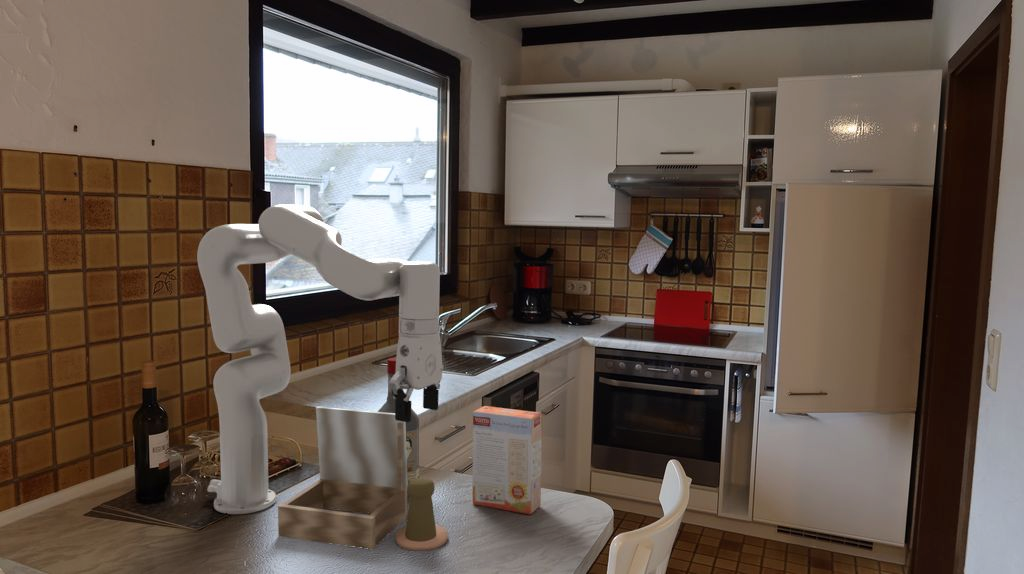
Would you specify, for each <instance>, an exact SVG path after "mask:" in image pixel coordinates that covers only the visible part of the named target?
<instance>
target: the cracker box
mask: <svg viewBox="0 0 1024 574" xmlns="http://www.w3.org/2000/svg"><path fill="white" fill-rule="evenodd" d="M542 423H543V422H542V412H538V411H531V410H530V411H529V410H523V409H522V410H521V409H513V408H506V407H505V408H503V407H498V406H497V407H496V406H490V405H489V406H488V405H484V406H481V407H479V408H477V409H476V410H475V409H474V411H472V504H474V505H477V506H483V507H487V508H494V509H500V510H504V511H510V512H514V513H520V514H525V515H532V514H533V513H534V512H535V511H536V510H537V509H539V508H540V507H541V501H542V499H541V498H542V497H541V493H542V492H541V491H542V490H541V489H542V484H541V483H542Z"/></svg>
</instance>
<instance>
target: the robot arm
mask: <svg viewBox="0 0 1024 574" xmlns="http://www.w3.org/2000/svg"><path fill="white" fill-rule="evenodd" d="M257 222H258V223H229V224H227V223H226V224H222V225H219V226H216V227H213V228H212V229H210V230H209V231H207V232H205V234H204V235H203V237H202V238H201V240H200V242H199V243H198V244H199V245H198V248H197V254H196V255H197V256H196V257H197V259H196V260H197V267H198V270H199V273H200V274H199V275H200V277H201V280H202V282H203V286H204V290H205V295H206V302H207V308H208V314H209V320H210V325H211V326H210V327H211V331H212V337H213V341H214V344H215V346H216V348H217V349H219V350H220V351H221V352H222V353H223V352H224V353H229V354H235V353H236V354H237V353H241V352H245V351H249V350H250V354H251V355H248V356H244V357H240V358H236V359H232V360H229V361H228V362H225V363H224V364H223V365H221V366H220V367H219V368H218V370H217V371H216V372H215V375H214V377H213V391H214V395H215V399H216V404H217V409H218V419H219V423H218V424H219V443H220V444H219V447H220V448H219V450H220V451H219V452H220V479H211V480H210V482H209V485H208V486H207V489H206V491H207V492H209V493H216V498H215V499H214V501H213V507H214V510H215V511H217V512H219V513H223V514H226V513H227V514H228V515H246V514H251V513H256V512H259V511H260V512H261V511H263V510H266V509H268V508H269V507H271V506H273V505H274V504H275V503H276V501H277V494H276V492H275V491H273V490H271V489H269V455H268V454H269V453H268V451H269V449H268V421H267V416H266V413H265V411H264V409H263V407H262V405H261V403H260V402H261V401H260V400H261V399H263V398H266V397H269V396H272V395H276V394H278V393H280V392H282V391H284V390H285V389H286V388H287V386H288V385H289V382H290V380H291V376H292V375H291V373H292V372H291V362H290V355H289V351H288V344H287V343H288V342H287V336H286V331H285V327H284V323H283V320H282V317H281V316H280V314H279V313H278V312H277V310H275V309H274V308H273V307H272V306H270V305H267V304H264V303H263V304H262V303H257V304H256V303H255V304H252V301H251V297H250V296H251V295H250V290H249V285H248V282H247V281H246V279H245V276H244V275H243V274H242V272H241V271H240V270H239V268H238V266H240V265H253V264H254V265H255V264H266V263H272V262H275V261H278V260H281V259H284V258H286V257H288V256H289V255H290V256H291V255H292V256H294V257H296V258H297V259H300V260H302V261H303V262H305V263H308V264H309V265H311V266H312V267H315V269H316V271H317V273H318V274H319V275H320V277H321V278H322V280H324V281H325V282H326V283H327V284H329V285H330V286H332V287H334V288H336V289H337V290H340V291H341V292H342V293H345V294H347V295H348V296H351V297H353V298H355V299H359V300H363V301H374V300H379V299H385V298H392V297H399V298H398V302H399V304H398V307H399V308H398V341H397V347H396V348H397V349H396V356H395V358H396V373H395V375H394V376H393V377H392V378H391V379H390V382H389V383H390V386H391V389H392V394H393V396H394V400H395V419H396V420H397V421H403V422H410V421H411V409H412V400H410V398H411V396H412V393H413V391H414V390H416V391H419V390H422V389H423V390H422V391H423V392H422V408H423V409H426V410H432V411H437V410H438V409H439V397H440V396H439V393H440V392H439V390H440V389H441V381H442V378H443V370H444V364H443V356H442V354H443V353H442V341H441V336H440V332H439V329H440V328H439V325H440V323H439V322H440V321H439V320H440V290H441V289H440V283H441V281H440V279H441V277H440V276H441V272H440V271H441V270H440V267H439V265H438V264H437V263H435V262H432V261H424V260H423V261H418V260H417V261H415V260H414V261H413V260H412V261H410V260H409V261H408V260H403V259H399V258H395V257H394V258H393V257H390V258H386V257H385V258H371V259H366V258H363V257H360V256H359V255H357V254H354V253H353V252H350V251H349V250H347V249H346V248H343V247H342V244H343V243H342V242H343V239H342V235H341V233H340V232H339V230H337V229H336V228H334V227H333V226H330V225H328V224H326V223H325V222H324V218H323V217H322V215H321V214H320V212H319V211H318V210H316V209H315V208H314V207H311V206H309V205H305V204H304V205H303V204H301V205H299V204H276V205H272V206H269V207H267V208H266V209H265V210H263V211H262V213H261V214H260V216H259V218H258V221H257ZM404 390H406V392H405V391H404ZM227 514H226V515H227Z"/></svg>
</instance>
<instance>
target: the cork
mask: <svg viewBox="0 0 1024 574" xmlns="http://www.w3.org/2000/svg"><path fill="white" fill-rule="evenodd" d="M407 491H408V493H407V496H409V502H408V508H407V517H406V525H405V526H406V531H405V537H406V538H407V539H408V540H411V541H416V542H422V541H428V540H431V539H433V538H434V537H436V526H435V525H436V520H435V513H434V505H433V498H432V496H433V495H434V493H435V483H434V481H433V480H432V479H431V478H428V477H422V476H421V477H420V476H419V477H418V478H414V479H412V480H410V482H409V483H408V486H407Z"/></svg>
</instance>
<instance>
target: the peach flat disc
mask: <svg viewBox="0 0 1024 574" xmlns="http://www.w3.org/2000/svg"><path fill="white" fill-rule="evenodd" d="M435 526H436V537H434V538H433V539H431V540H428V541H422V542H416V541H411V540H408V539H407V538H406V537H405V531H406V525H405V526H404V527H402V528H399V529H398V530H397V531H396V533H395V543H396V545H397V546H398V547H400V548H401V549H404V550H408V551H414V552H417V551H418V552H422V551H423V552H425V551H431V550H435V549H438V548H440V547H442V546H444V545H445V544H446V543H447V542H448V540H449V536H448V535H449V533H448V530H447V529H446V528H445V527H444V526H442V525H438V524H435Z"/></svg>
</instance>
